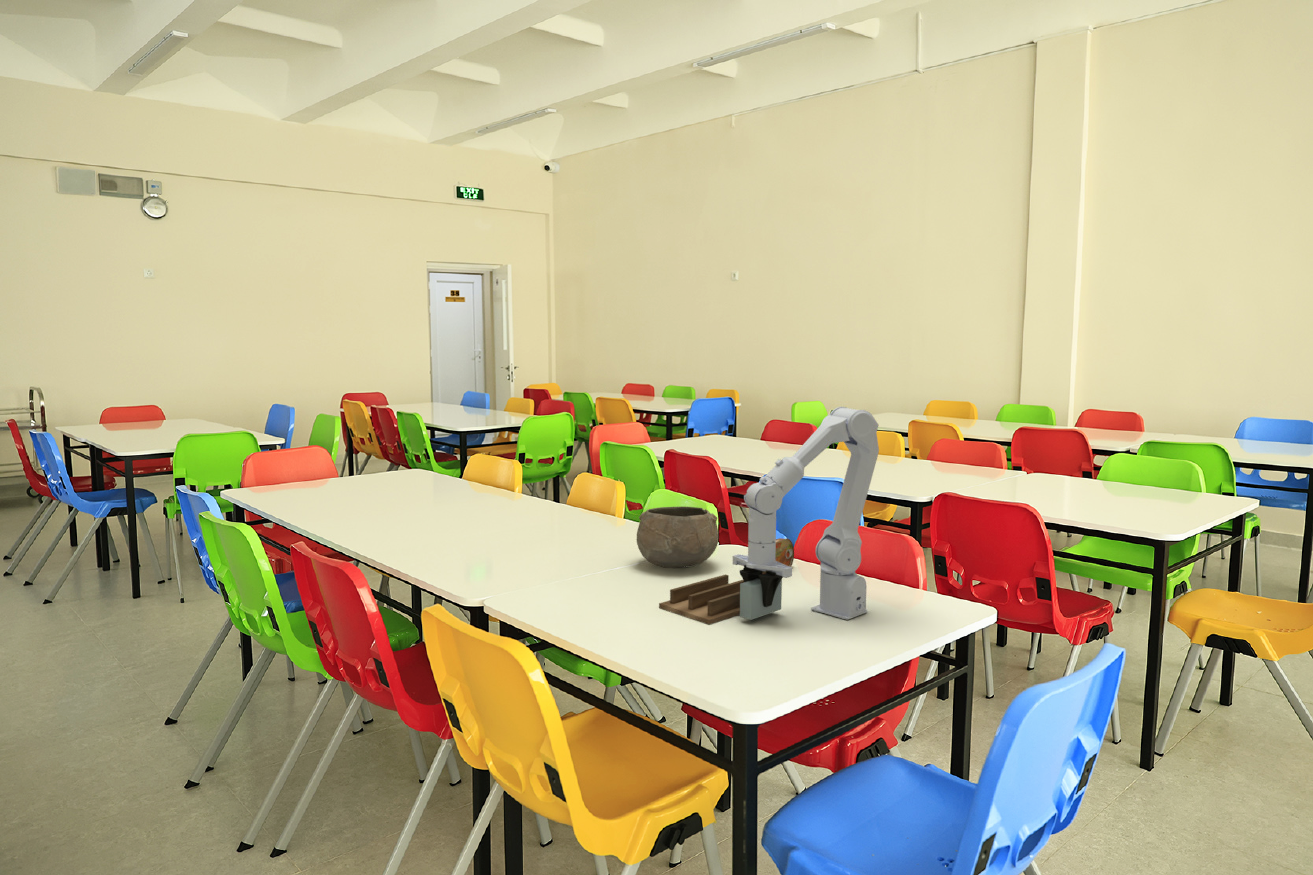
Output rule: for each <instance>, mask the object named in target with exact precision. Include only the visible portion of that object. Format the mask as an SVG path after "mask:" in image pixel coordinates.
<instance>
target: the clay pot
mask: <svg viewBox="0 0 1313 875" xmlns="http://www.w3.org/2000/svg"><path fill="white" fill-rule="evenodd" d="M638 518H639V519H638V520H639V524H638V527H637V531H636V545H637V548H638V549H639V550H638V551H639V552H640V554H641V556H642V557H643V558H644V559H645V560H646V561H647V562H649V563H651V564H652V565H655V566H658V567H662V568H667V569H681V568H682V569H683V568H688V567H690V568H691V567H695V566H698V565H700V564H702V563H704V562H706V561H707V560H708V559H709V558H710V557H711V556H712V555H713V554H714V552H715V551H716V550H717V546H718V544H719V543H718V542H719V529H718V525H717V521H718V517H717V516H716V515H715V514H714V513H713V512H712V513H711V512H710V511H709V510H708V509H707V508H705V509H704V508H703V507H694V506H662V507H661V506H660V507H653V508H649V509H647V510H646V511H643V512H641V514H640V515H639V517H638Z"/></svg>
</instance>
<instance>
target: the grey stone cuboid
mask: <svg viewBox="0 0 1313 875" xmlns="http://www.w3.org/2000/svg"><path fill="white" fill-rule="evenodd" d="M782 585H783V579H782V580H781V581H780V583H779V585H778V587H777V589H776V592H775V595H774V598H773V602H772V605H771V606H768V607H763V593H762V585H761V581H760V578H758V579H755V580H751V581H748V582H744V583H741V584H740V615H739V617H740V618H743V619H747V620H749V621H750V620H751V621H752V620H754V619H758V618H760V617H763V616H766V615H769V614H772V613H776V612H778V611H781V610H782V596H783V594H782V593H783V592H782V589H783V588H782V587H783V586H782Z"/></svg>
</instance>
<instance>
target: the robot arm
mask: <svg viewBox="0 0 1313 875" xmlns="http://www.w3.org/2000/svg"><path fill="white" fill-rule="evenodd" d="M878 428H879V423H878V421H877V420H876V419H875V417H874V415H873V414H872V413H871V412H870V411H869V410H866V409H856V408H855V409H854V408H849V407H846V406H838V407H835V408H834V409H833V410H831V412H830V413H829V414H827V415H826V416H825V417H824V418H823V419H822V422H821V424H820V425H819V426H818V428H817V429H816V430H815V431H814V432H813V433H812V434H811V435H810V437H808V438H807V440H806V441H805V442H804V443H803V444H802V445H801V446H800V448H798V450H797V451H796V452H795V453H794V454H793V456H785V457H782V459H779V458H778V459H777V460H776V461H775V462H774V464H775V466H774V467H772V468H771V470H769V471H768V472H767V474H766V475H765V476H761V477H760V478H759V482H756V483H755V482H754V483H752V484H751V485H749V487H748V488H747V490H746V493H745V494H744V495H743V501H744V504H746V506H747V508H748V529H747V530H748V532H747V533H748V534H747V535H748V536H747V538H748V539H747V541H748V542H747V555H744V554H733V555H732V565H734V566H742V567H743V568H742V569H741V570H739V574H740V576H741V578H742V580H744V582H748V581H751V580H755V579H758V578H760V581H761V585H762V593H763V607H768V606H771V605H772V602H773V598H774V595H775V592H776V589H777V587H778V585H779V583H780V581H781V580H782V581H783V578H784V579H788V578H791V577H793V566H791V567H789V566H786V565H784V564H782V563H780V562H778V561H775V555H776V539H777V510H779V509H780V508H781V506H782V503H783V498H784V497H785V496H786V495H787V494H788V493H789V492H790V491H791V490H792V489H793V487H795V486H796V485H797V484H798V483H799V482H800V481H801V480H802V479H803V478H804V477H805V468H806V467H807V466H808V465H809V464H810V463H812V461H814V460H815V459H816V458H817V457H818V456H819V455H821V454H822V453H823V452H824V451H825V450H826V449H827V448H828V447H829V446H830V445H832V444H836V443H837V444H838V443H844V445H845V446H846V448H847V449H848V451H849V453H850V457H849V461H848V465H847V468H846V472H845V475H844V478H843V479H844V480H843V483H842V487H841V491H840V494H839V498H838V502H837V505H836V508H835V513H834V516H833V520H832V523H831V524H830V525H828V526H827V527H826V528H825V529H824V531H823V535H822V536H821V538H820V539H819V541H818V542H817V544H816V546H815V556H816V558H817V559H818V561H819V562H820V575H819V576H820V580H819V583H820V585H819V604H817V605H814V606H812V607H811V608H810V610H811V611H815V612H818V613H822V614H824V615H825V614H826V615H829V616H832V617H836V618H838V619H843V620H850V619H853V618H856V617H858V616H860V615H863V614H866V613H868V612H869V611H868V609H867V587H868V586H867V581H866V579H865V577H863V576H861V575H859V574H857V573H856V571H857V570H858V568H859V567H860V565H861V563H862V552H861V548H862V544H863V541H862V539H861V536H860V534H859V531H858V530H859V525H860V523H861V519H862V515H863V512H864V508H865V504H866V501H867V497H868V493H869V489H870V486H871V482H872V478H873V475H874V471H875V467H876V463H877V461H878V457H879V456H878V455H879V454H880V453H879V452H880V449H879V441H878V440H879V439H878V436H877V435H878V434H877V432H878ZM763 571H765V572H766V574H762V573H763Z"/></svg>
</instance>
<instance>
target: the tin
mask: <svg viewBox="0 0 1313 875" xmlns="http://www.w3.org/2000/svg"><path fill="white" fill-rule="evenodd" d="M794 560H795V548H794V544H793V541H792V540H791V539H789V538H783V537H782V538H781V537H780V538H776V555H775V561H778V562H780V563H782V564H784V565H786V566H789V567H793V564H794ZM762 574H766V572H765V571H763V573H762Z"/></svg>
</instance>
